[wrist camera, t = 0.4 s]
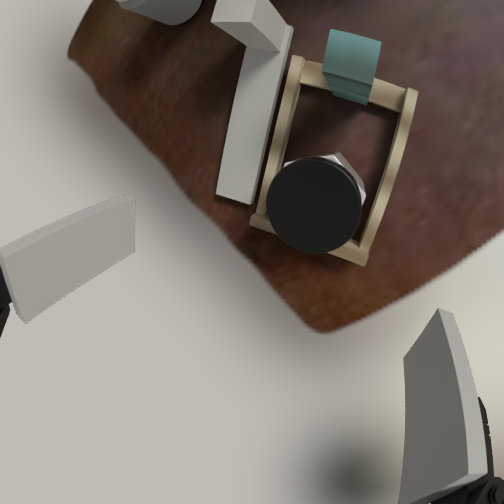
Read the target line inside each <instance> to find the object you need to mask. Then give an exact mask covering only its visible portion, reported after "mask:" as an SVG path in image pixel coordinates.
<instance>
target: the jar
mask: <svg viewBox="0 0 504 504" xmlns="http://www.w3.org/2000/svg"><path fill="white" fill-rule="evenodd" d="M365 197H366V193H365V188H364V184H363V180H362V179H361V178H360V176H359V175H358V174H357V173H356V171H355V170H354V169H353V168H352V166H351V165H350V164H349V163H348V161H347V160H346V159H345V158H344V157H343V155H342V154H341V153H340V152H333V153H326V154H320V155H313V156H307V157H303V158H299V159H296V160H293V161H290V162H286V163H285V164H284V167H283V168H282V169H281V170H280V171H279V172H278V173H277V174H276V176H275V177H274V178H273V180H272V182H271V184H270V186H269V189H268V192H267V197H266V210H267V215H268V219H269V221H270V224H271V226H272V228H273V229H274V231H275V232H276V234H277V235H278V236H279V237H280V238H281V239H282V240H283V241H284V242H285V243H287V244H288V245H290V246H291V247H293V248H295V249H297V250H300V251H303V252H307V253H316V254H318V253H327V252H330V251H333V250H336V249H338V248H340V247H341V246H343V245H344V244H345V243H347V242H348V241H349V240H350V239H351V238H352V236H353V235H354V234H355V232H356V230H357V228H358V226H359V224H360V220H361V216H362V205H363V202H364V200H365Z"/></svg>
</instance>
